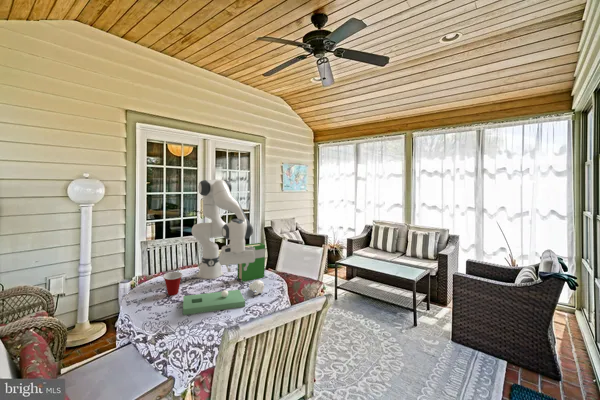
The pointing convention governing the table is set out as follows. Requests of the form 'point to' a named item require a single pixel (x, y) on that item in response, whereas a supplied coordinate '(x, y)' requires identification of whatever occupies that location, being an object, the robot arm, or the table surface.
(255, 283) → the white snowman figurine
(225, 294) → the ball
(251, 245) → the hardback book
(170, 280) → the plastic cup
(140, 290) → the table surface
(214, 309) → the green
